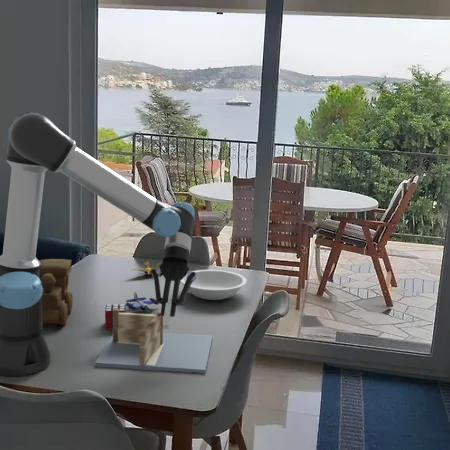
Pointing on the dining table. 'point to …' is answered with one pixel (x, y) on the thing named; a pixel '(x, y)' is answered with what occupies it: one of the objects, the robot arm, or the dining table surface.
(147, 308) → the toy airplane
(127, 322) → the fence fixed section
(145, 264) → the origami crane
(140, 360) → the fence panel
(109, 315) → the puzzle toy
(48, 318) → the wooden toy train
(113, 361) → the board
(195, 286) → the soup bowl
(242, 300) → the dining table surface
